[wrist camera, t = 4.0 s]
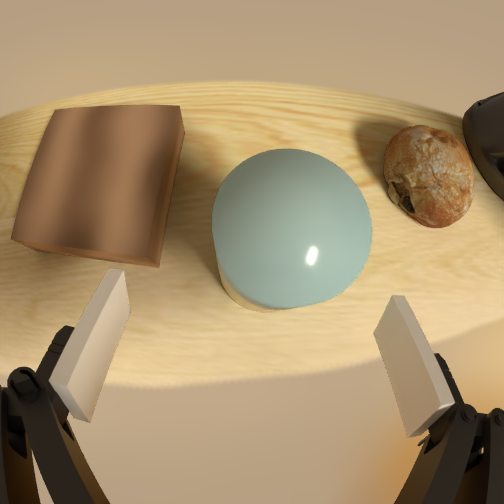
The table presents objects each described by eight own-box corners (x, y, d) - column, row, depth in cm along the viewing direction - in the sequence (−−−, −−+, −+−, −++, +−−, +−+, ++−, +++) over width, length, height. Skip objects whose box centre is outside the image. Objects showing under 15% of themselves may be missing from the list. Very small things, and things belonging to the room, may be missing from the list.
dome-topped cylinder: (311, 227, 24) (368, 162, 14) (306, 316, 23) (370, 311, 12) (224, 217, 24) (223, 140, 13) (213, 307, 22) (201, 296, 12)
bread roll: (357, 177, 30) (367, 163, 22) (414, 114, 28) (436, 87, 20) (421, 244, 29) (449, 251, 21) (474, 179, 27) (510, 169, 19)
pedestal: (184, 133, 25) (179, 105, 21) (159, 267, 23) (145, 256, 19) (71, 132, 25) (55, 109, 21) (36, 250, 22) (10, 239, 18)
